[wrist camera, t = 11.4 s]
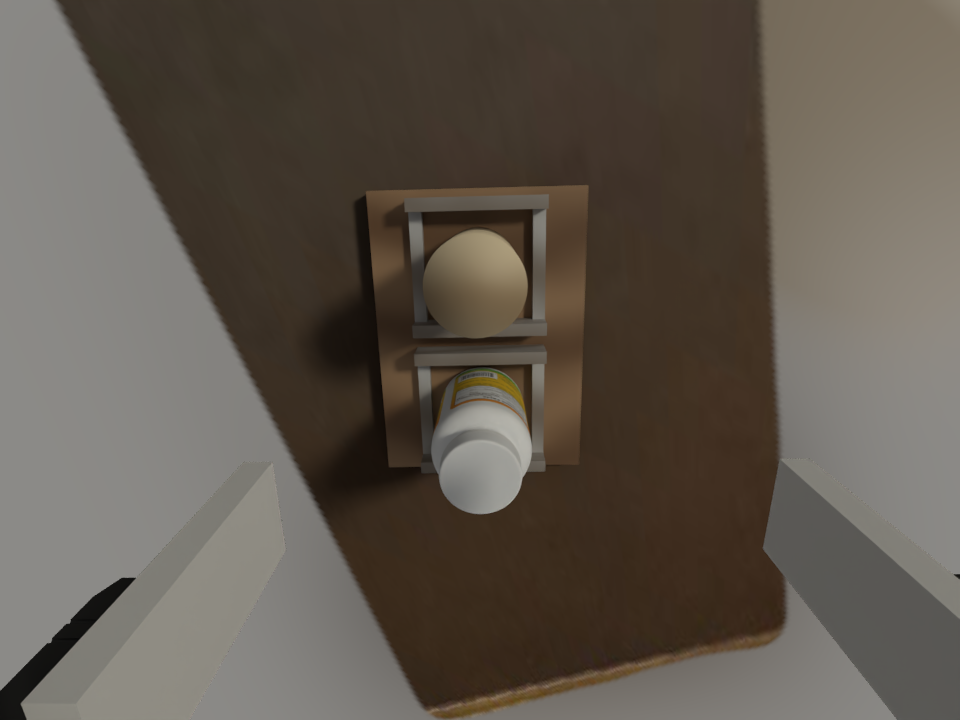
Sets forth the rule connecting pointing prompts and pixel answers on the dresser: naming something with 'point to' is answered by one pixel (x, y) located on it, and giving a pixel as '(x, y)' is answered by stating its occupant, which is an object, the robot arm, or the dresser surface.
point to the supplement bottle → (481, 441)
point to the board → (514, 351)
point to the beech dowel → (475, 284)
